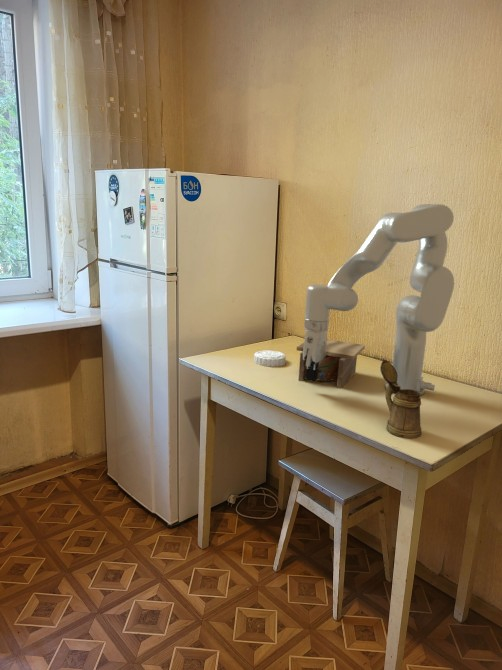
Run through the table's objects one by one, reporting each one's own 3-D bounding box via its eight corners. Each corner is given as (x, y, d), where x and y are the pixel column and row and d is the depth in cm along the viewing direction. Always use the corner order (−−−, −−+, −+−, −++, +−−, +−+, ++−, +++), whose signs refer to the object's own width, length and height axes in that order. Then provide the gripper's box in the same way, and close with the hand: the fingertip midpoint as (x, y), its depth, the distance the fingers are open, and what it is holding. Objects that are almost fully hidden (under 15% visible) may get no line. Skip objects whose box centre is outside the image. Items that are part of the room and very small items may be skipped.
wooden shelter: (362, 373, 186) (365, 345, 183) (348, 389, 169) (351, 358, 166) (309, 364, 194) (311, 337, 191) (291, 378, 177) (293, 348, 174)
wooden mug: (385, 416, 147) (392, 356, 143) (427, 433, 137) (436, 369, 133) (366, 423, 142) (372, 361, 138) (408, 441, 132) (417, 375, 128)
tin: (318, 383, 172) (319, 359, 171) (311, 381, 175) (312, 357, 173) (348, 376, 182) (349, 353, 180) (341, 374, 184) (342, 351, 182)
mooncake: (289, 361, 199) (290, 352, 198) (278, 369, 188) (279, 359, 187) (261, 356, 203) (261, 347, 202) (248, 364, 192) (249, 354, 192)
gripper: (320, 330, 152) (315, 389, 156) (334, 322, 165) (329, 376, 169) (296, 327, 155) (292, 384, 159) (312, 319, 168) (308, 372, 172)
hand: (311, 380), depth 164 cm, fingers closed
